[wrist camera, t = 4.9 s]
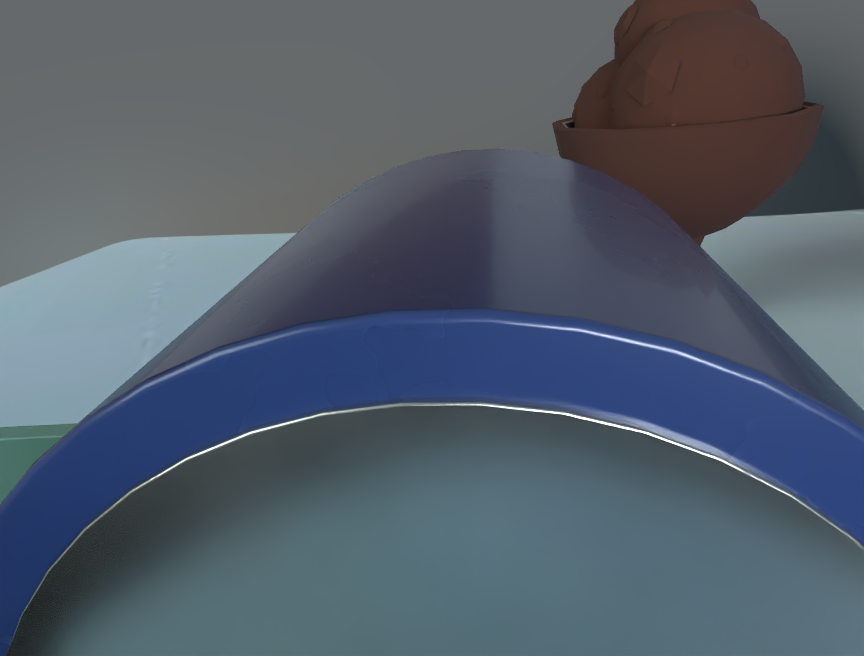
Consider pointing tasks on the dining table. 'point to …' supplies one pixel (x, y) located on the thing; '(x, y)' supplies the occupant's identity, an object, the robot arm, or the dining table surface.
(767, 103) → the ice cream bowl
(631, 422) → the pot
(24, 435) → the tray
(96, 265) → the dining table surface
